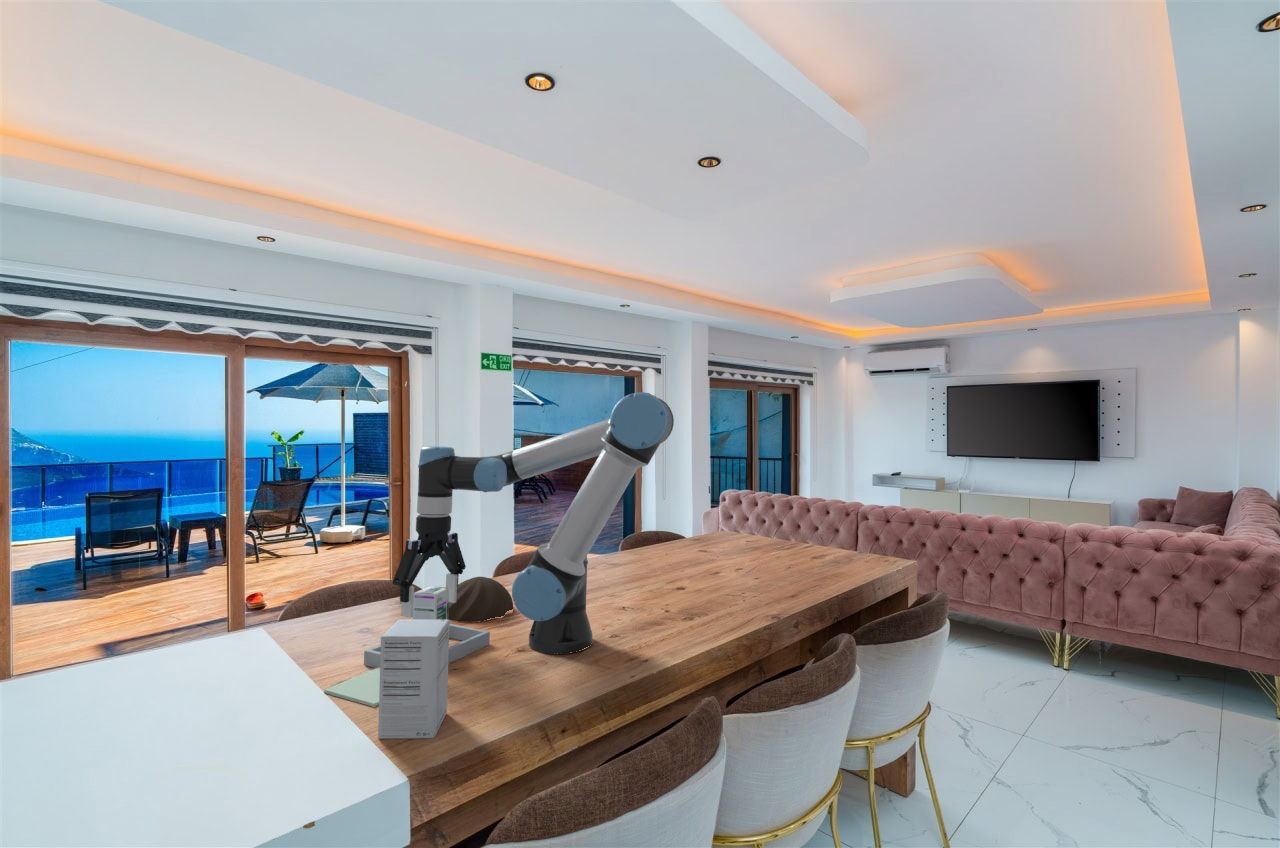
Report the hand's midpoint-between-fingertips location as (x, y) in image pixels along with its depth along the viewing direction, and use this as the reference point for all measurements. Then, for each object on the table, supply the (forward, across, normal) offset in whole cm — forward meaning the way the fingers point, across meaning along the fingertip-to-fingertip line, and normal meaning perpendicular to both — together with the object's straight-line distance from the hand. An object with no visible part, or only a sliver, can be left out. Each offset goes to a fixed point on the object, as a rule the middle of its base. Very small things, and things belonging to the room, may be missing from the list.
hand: (429, 609), depth 139 cm
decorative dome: (+11, -31, -12) cm, 35 cm away
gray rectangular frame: (+10, 0, 0) cm, 10 cm away
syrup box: (+10, 0, +1) cm, 10 cm away
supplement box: (+10, +27, +22) cm, 36 cm away
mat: (+10, +18, +5) cm, 21 cm away
